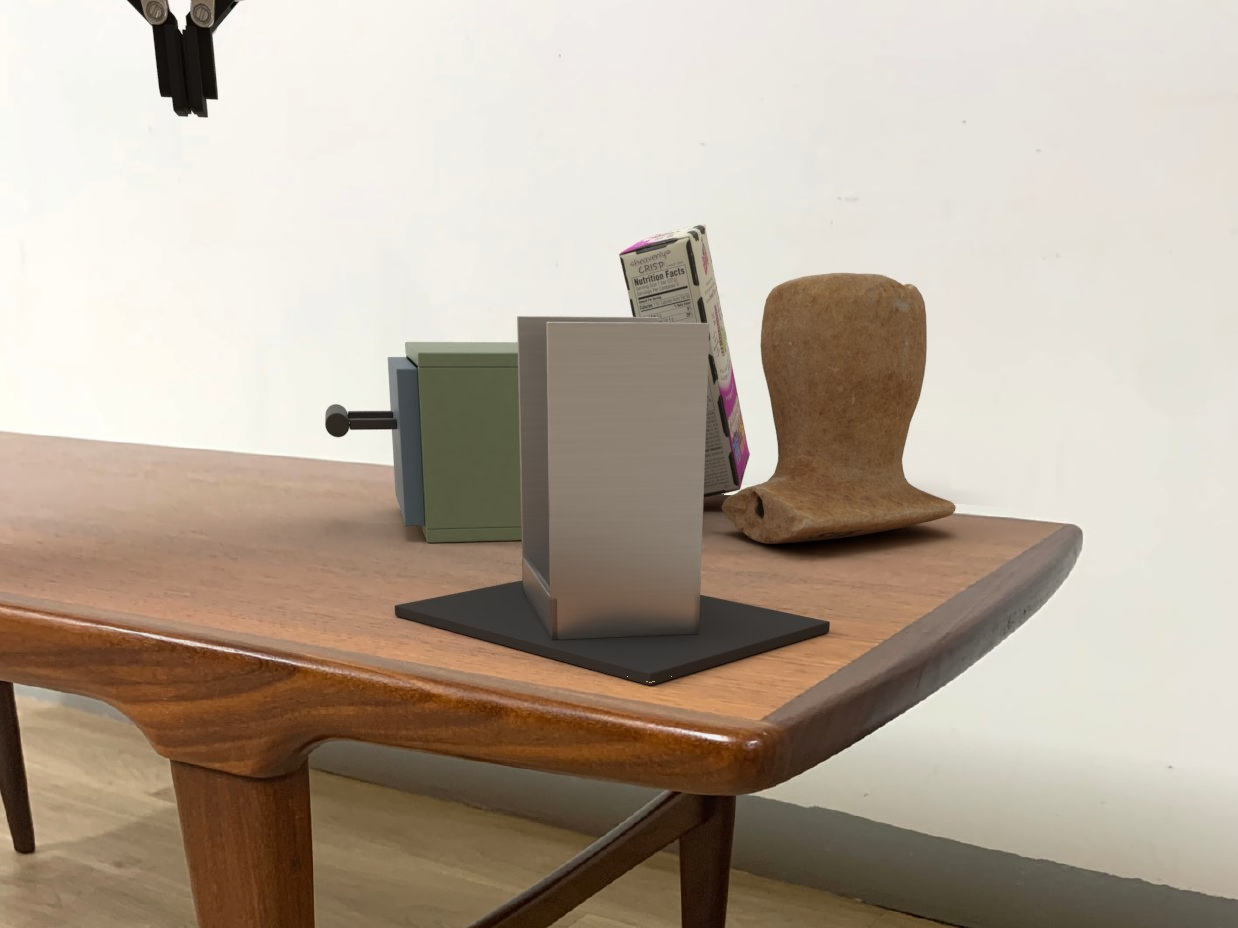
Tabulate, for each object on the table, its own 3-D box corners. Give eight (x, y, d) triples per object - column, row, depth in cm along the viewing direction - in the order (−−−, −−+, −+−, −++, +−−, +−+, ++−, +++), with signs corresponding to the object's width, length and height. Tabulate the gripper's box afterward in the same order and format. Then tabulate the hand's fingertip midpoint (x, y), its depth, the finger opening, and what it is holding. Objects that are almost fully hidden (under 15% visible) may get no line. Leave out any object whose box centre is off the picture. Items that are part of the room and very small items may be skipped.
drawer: (332, 528, 76) (320, 368, 72) (332, 496, 87) (321, 356, 84) (643, 520, 80) (646, 368, 76) (605, 491, 91) (605, 357, 87)
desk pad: (394, 615, 60) (393, 605, 60) (577, 578, 68) (577, 569, 68) (650, 686, 50) (650, 673, 50) (829, 632, 58) (830, 621, 58)
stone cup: (842, 510, 90) (860, 274, 84) (978, 535, 81) (1008, 275, 75) (671, 530, 82) (677, 271, 76) (802, 561, 73) (820, 270, 67)
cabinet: (427, 543, 77) (417, 352, 73) (413, 506, 89) (404, 341, 85) (682, 536, 80) (687, 353, 76) (635, 502, 92) (637, 342, 88)
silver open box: (551, 640, 54) (547, 322, 49) (522, 593, 62) (516, 316, 57) (699, 634, 55) (709, 323, 51) (652, 589, 64) (657, 317, 59)
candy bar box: (686, 471, 98) (639, 239, 91) (751, 457, 97) (708, 221, 90) (669, 506, 89) (615, 249, 81) (741, 492, 87) (692, 230, 80)
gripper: (-32, -357, 60) (32, 99, 67) (301, -320, 63) (329, 113, 70) (4, -292, 66) (59, 116, 74) (304, -261, 69) (329, 128, 77)
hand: (191, 113), depth 72 cm, fingers closed
